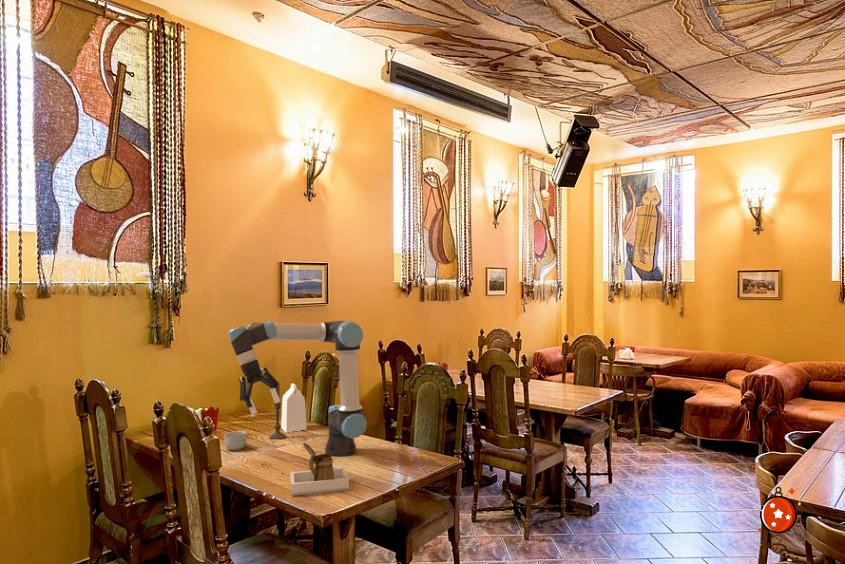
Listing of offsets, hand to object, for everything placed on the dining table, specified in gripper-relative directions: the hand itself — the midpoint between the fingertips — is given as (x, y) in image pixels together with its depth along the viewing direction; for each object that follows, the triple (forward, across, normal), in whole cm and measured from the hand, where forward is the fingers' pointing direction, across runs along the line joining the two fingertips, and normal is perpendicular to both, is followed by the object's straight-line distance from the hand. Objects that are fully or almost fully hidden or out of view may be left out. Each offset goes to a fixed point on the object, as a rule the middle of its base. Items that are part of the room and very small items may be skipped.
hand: (266, 408), depth 238 cm
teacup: (+17, -19, -54) cm, 60 cm away
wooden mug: (+35, +5, +19) cm, 40 cm away
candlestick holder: (+22, -44, -53) cm, 72 cm away
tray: (+36, +5, +18) cm, 41 cm away
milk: (+24, -62, -60) cm, 89 cm away
